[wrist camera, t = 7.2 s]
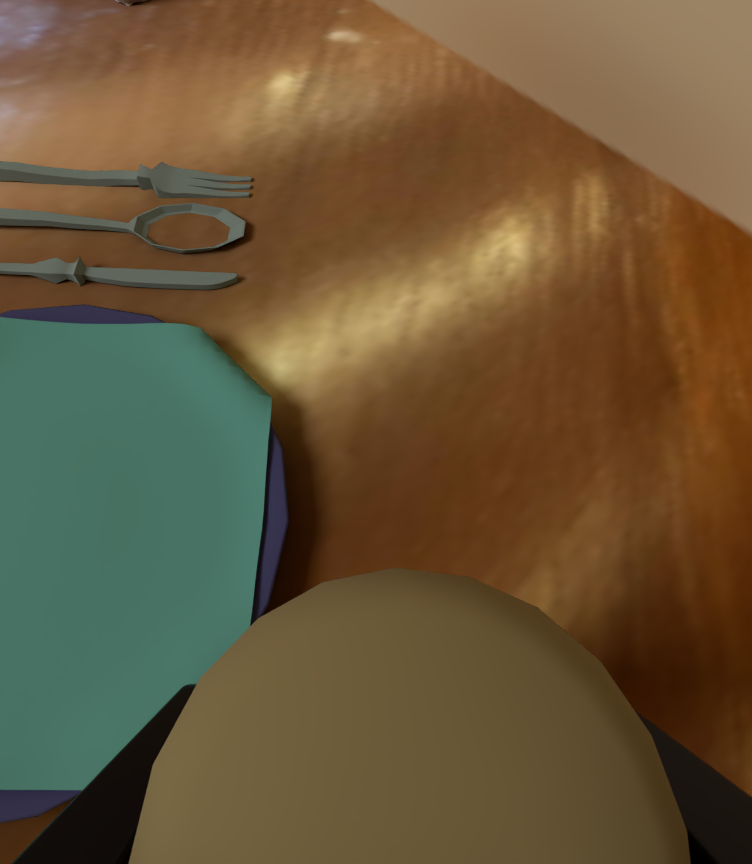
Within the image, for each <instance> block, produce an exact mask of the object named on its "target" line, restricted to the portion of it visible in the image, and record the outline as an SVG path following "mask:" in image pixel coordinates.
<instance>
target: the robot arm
mask: <svg viewBox="0 0 752 864" xmlns="http://www.w3.org/2000/svg"><path fill="white" fill-rule="evenodd" d="M196 685H197V684H187V685H185V686H183V687H182V688H181V689H180V690H179V691H178V692H177V693H176V694H175V695H174V696H173V697H172V698H171V699H170V700H169V701H168V702H167V703H166V704H165V705H164V706H163V707H162V708H161V709H160V710H159V711H158V712H157V713H156V715H155V716H154V717H153V718H152V719H151V720H150V721H149V722H148V723H147V724H146V725H145V726H144V727H143V728H142V729H141V730H140V731H139V732H138V733H137V734H136V735H135V736H134V737H133V738H132V739H131V740H130V741H129V742H128V744H127V745H126V746H125V747H124V748H123V749H122V750H121V751H120V752H119V753H118V754H117V755H116V756H115V757H114V758H113V759H112V760H111V761H110V762H109V763H108V764H107V765H106V766H105V767H104V768H103V769H102V770H101V771H100V772H99V774H98V775H97V776H96V777H95V778H94V779H93V780H92V781H91V782H90V783H89V784H88V785H87V786H86V787H85V788H84V789H83V790H82V791H81V792H80V793H79V794H78V795H77V796H76V797H75V798H74V799H73V800H72V801H71V803H70V804H69V805H68V806H67V807H66V808H65V809H64V810H63V811H62V812H61V813H60V814H59V815H58V816H57V817H56V818H55V819H54V820H53V821H52V822H51V823H50V824H49V825H48V826H47V827H46V828H45V829H44V830H43V832H42V833H41V834H40V835H39V836H38V837H37V838H36V839H35V840H34V841H33V842H32V843H31V844H30V845H29V846H28V847H27V848H26V849H25V850H24V851H23V852H22V853H21V854H20V855H19V856H18V857H17V858H16V859H15V860H14V862H13V863H12V864H129V860H130V856H131V852H132V848H133V844H134V839H135V835H136V831H137V827H138V823H139V819H140V815H141V811H142V807H143V803H144V799H145V795H146V791H147V787H148V783H149V779H150V775H151V770H152V766H153V764H154V762H155V760H156V758H157V756H158V754H159V753H160V751H161V749H162V747H163V745H164V743H165V742H166V740H167V738H168V736H169V734H170V732H171V731H172V729H173V727H174V725H175V723H176V721H177V720H178V718H179V716H180V714H181V712H182V710H183V709H184V707H185V705H186V703H187V701H188V699H189V698H190V696H191V694H192V692H193V690H194V688H195V687H196ZM634 711H635V710H634ZM635 712H636V714H637V715H638V716H639V718H640V719H641V721H642V722H643V724H644V725H645V727H646V728H647V730H648V731H649V732H650V734H651V735H652V738H653V740H654V743H655V746H656V748H657V751H658V754H659V757H660V759H661V762H662V765H663V767H664V770H665V773H666V775H667V778H668V781H669V783H670V786H671V789H672V791H673V794H674V797H675V799H676V802H677V805H678V807H679V810H680V813H681V816H682V818H683V821H684V824H685V826H686V829H687V835H688V844H689V853H690V862H691V864H752V797H751V796H749V795H748V794H747V793H745V792H744V791H743V790H741V789H740V788H739V787H737V786H736V785H735V784H733V783H732V782H731V781H729V780H728V779H727V778H725V777H724V776H723V775H721V774H720V773H719V772H717V771H716V770H715V769H713V768H712V767H711V766H709V765H708V764H707V763H705V762H704V761H703V760H701V759H700V758H698V757H697V756H696V755H694V754H693V753H692V752H690V751H689V750H688V749H686V748H685V747H684V746H682V745H681V744H680V743H678V742H677V741H676V740H674V739H673V738H672V737H670V736H669V735H668V734H666V733H665V732H664V731H662V730H661V729H660V728H658V727H657V726H656V725H654V724H653V723H652V722H650V721H649V720H648V719H646V718H645V717H643V716H642V715H641V714H639V713H638V712H637V711H635Z"/></svg>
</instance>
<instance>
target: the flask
mask: <svg viewBox="0 0 752 864" xmlns="http://www.w3.org/2000/svg"><path fill="white" fill-rule="evenodd" d="M116 1H117V2H122V3H124V4H125V5H127V6H130V5H132V3H134V2H138V1H139V2H144V1H146V0H116Z"/></svg>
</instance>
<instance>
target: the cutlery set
mask: <svg viewBox="0 0 752 864" xmlns="http://www.w3.org/2000/svg"><path fill="white" fill-rule="evenodd" d="M0 181H22V182H31V183H40V184H61V185H83V186H115V185H139V187H140V188H141V189H142V190H146V189H154V190H155V192H156V194H157V195H158V197H159V198H174V197H181V198H249V192H228V191H219V190H250V188H251V186H250V185H246V184H227V183H219V182H251V181H252V178H251V177H234V176H225V175H218V174H213V173H207V172H201V171H195V170H189V169H182V168H176V167H172V166H168V165H166V164H165V163H163V162H161V163H160V164H158V165H157V166H156V167H155V168H154V169H150V168H148V167H145V166H143V165H141V164H140V168H139V171H121V170H110V171H85V170H73V169H62V168H53V167H44V166H37V165H30V164H24V163H17V162H3V161H0ZM190 212H191V213H196V214H201V215H207V216H212V217H215V218H217V219H218V220H220V221H221V222H223V223H224V224H226V225H227V226H229V227H230V231H229V236H228V240H227V241H225V242H223V243H221V244H219V245H216V246H214V247H207V248H197V249H186V250H182V249H177V248H171V247H166V246H161V245H157V244H155V243H154V242H153V241H151V240H150V239H149V238H147V233H148V228H149V225H150V224H152V223H153V222H155V221H157V220H159V219H161V218H163V217H165V216H167V215H174V214H182V213H190ZM245 222H246V221H244V220H242V219H241V218H239V217H237V216H236V215H234V214H232V213H231V212H229V211H227V210H226V209H223V208H217V207H212V206H206V205H201V204H196V203H187V204H176V205H165V206H159V207H157V208H154V209H152V210H150V211H147V212H145V213H143V214H140V215H138V216H136V217H135V218H133V219H132V220H131V221H130V222H129V223H124V222H117V221H111V220H105V219H97V218H88V217H79V216H71V215H64V214H57V213H51V212H41V211H29V210H17V209H5V208H0V225H16V226H52V227H63V228H74V229H92V230H108V231H118V232H128V233H132V234H135V235H138V236H140V237H141V238H142V239H144V240H145V241H147V242H148V243H150V244H151V245H152V246H154V247H155V248H157V249H162V250H167V251H172V252H177V253H181V254H184V253H193V252H203V251H212V250H214V249H216V248H218V247H220V246H223V245H225V244H227V243H229V242H232V241H234V240H236V239H238V238H240V237H243V236H244V229H245ZM0 274H18V275H33V276H36V277H39V278H42V279H45V280H48V281H51V282H53V283H56V284H57V283H59V282H61V281H63V280H66V279H68V280H71V281H74V282H76V283H78V284H79V285H80V286H82V285H83V284H84V283H85V280H90V281H95V282H101V283H108V284H115V285H121V286H131V287H147V288H166V289H197V290H211V289H218V288H223V287H226V286H228V285H231V284H234V283H236V282H237V281H238V275H237V273H215V272H192V271H169V270H145V269H122V268H99V267H85V265H84V264H83V262H82V260H81V258H80V256H79V258H78V260H77V261H76V262H74V263H66V262H64V261H62V260H60V259H57V258H52V259H49V260H45V261H41V262H38V263H34V264H18V263H0ZM271 408H272V398H271V396H270V395H269V394H268V393H267V392H266V391H265V390H264V389H263V388H261V387H260V386H259V385H258V384H257V383H256V382H255V381H254V380H253V379H252V378H251V377H250V376H249V375H248V374H247V373H246V372H245V371H244V370H243V369H242V368H241V367H239V366H238V365H237V364H236V363H235V362H234V361H233V360H232V359H231V358H230V357H229V356H228V355H227V354H226V353H225V352H224V351H223V350H222V349H221V348H220V347H219V346H218V345H217V344H216V343H215V342H214V341H213V339H212V338H211V337H210V336H209V335H207V334H206V333H205V332H204V331H203V330H202V329H201V328H199V327H195V326H190V325H186V324H176V323H165V322H163V321H161V320H159V319H157V318H155V317H153V316H150V315H144V314H138V313H132V312H126V311H120V310H114V309H108V308H102V307H96V306H90V305H85V304H84V305H71V306H59V307H46V308H34V309H21V310H11V311H7V312H4V313H1V314H0V823H3V822H8V821H14V820H20V819H25V818H31V817H37V816H39V815H41V814H43V813H45V812H47V811H49V810H51V809H53V808H55V807H57V806H58V805H60V804H62V803H64V802H66V801H68V800H70V799H72V798H74V797H76V796H77V795H78V794H79V793H80V792H81V791H82V790H83V789H84V788H85V787H86V786H87V785H88V784H89V783H90V782H91V781H92V780H93V779H94V778H95V777H96V776H97V775H98V774H99V772H100V771H101V770H102V769H103V768H104V767H105V766H106V765H107V764H108V763H109V762H110V761H111V760H112V759H113V758H114V757H115V756H116V755H117V754H118V753H119V752H120V751H121V750H122V749H123V748H124V747H125V746H126V745H127V744H128V742H129V741H130V740H131V739H132V738H133V737H134V736H135V735H136V734H137V733H138V732H139V731H140V730H141V729H142V728H143V727H144V726H145V725H146V724H147V723H148V722H149V721H150V720H151V719H152V718H153V717H154V716H155V715H156V713H157V712H158V711H159V710H160V709H161V708H162V707H163V706H164V705H165V704H166V703H167V702H168V701H169V700H170V699H171V698H172V697H173V696H174V695H175V694H176V693H177V692H178V691H179V690H180V689H181V688H182V687H183V686H185V685H187V684H197V683H198V681H199V679H200V678H201V677H202V675H203V674H204V673H205V672H206V671H207V670H208V669H209V668H210V667H211V666H212V665H213V664H214V663H215V662H216V661H217V660H218V659H219V658H220V657H221V656H222V655H223V654H224V653H225V652H226V651H227V650H228V649H229V648H230V647H231V646H232V645H233V644H234V643H235V642H236V641H237V640H238V639H239V637H240V636H241V635H242V634H243V633H244V632H245V631H246V630H247V629H248V628H249V627H250V626H251V625H252V624H253V623H254V622H255V621H256V620H257V619H258V618H260V617H261V616H262V615H263V613H264V612H265V610H266V608H267V607H268V605H269V602H270V598H271V594H272V590H273V586H274V582H275V578H276V574H277V570H278V566H279V561H280V557H281V553H282V549H283V545H284V541H285V537H286V533H287V529H288V525H289V512H288V501H287V490H286V478H285V467H284V455H283V447H282V445H281V443H280V441H279V439H278V437H277V435H276V433H275V430H274V428H273V426H272V424H271V422H270V419H271Z"/></svg>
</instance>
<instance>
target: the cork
mask: <svg viewBox="0 0 752 864" xmlns="http://www.w3.org/2000/svg"><path fill="white" fill-rule="evenodd" d="M129 864H691V862H690V853H689V844H688V835H687V829H686V826H685V824H684V821H683V818H682V816H681V813H680V810H679V807H678V805H677V802H676V799H675V797H674V794H673V791H672V789H671V786H670V783H669V781H668V778H667V775H666V773H665V770H664V767H663V765H662V762H661V759H660V757H659V754H658V751H657V748H656V746H655V743H654V740H653V738H652V735H651V734H650V732H649V731H648V730H647V728H646V727H645V725H644V724H643V722H642V721H641V719H640V718H639V716H638V715H637V714H636V712H635V711H634V709H633V708H632V706H631V705H630V703H629V702H628V701H627V699H626V698H625V696H624V695H623V693H622V692H621V690H620V689H619V687H618V686H617V685H616V683H615V682H614V680H613V679H612V677H611V676H610V674H609V673H608V672H607V670H606V669H605V667H604V666H603V664H602V663H601V661H600V660H599V659H597V658H596V657H595V656H594V655H593V654H592V653H590V652H589V651H588V650H587V649H586V648H584V647H583V646H582V645H581V644H580V643H579V642H577V641H576V640H575V639H574V638H573V637H572V636H570V635H569V634H568V633H567V632H566V631H565V630H563V629H562V628H561V627H560V626H559V625H557V624H556V623H555V622H554V621H553V620H552V619H550V618H549V617H548V616H547V615H546V614H545V613H543V612H542V611H541V610H540V609H539V608H537V607H535V606H533V605H531V604H528V603H526V602H524V601H522V600H520V599H517V598H515V597H513V596H511V595H508V594H506V593H504V592H502V591H500V590H497V589H495V588H493V587H491V586H488V585H486V584H484V583H482V582H479V581H477V580H475V579H473V578H471V577H467V576H459V575H450V574H442V573H433V572H425V571H416V570H408V569H400V568H392V569H387V570H382V571H377V572H372V573H367V574H362V575H357V576H352V577H347V578H342V579H337V580H332V581H327V582H323V583H321V584H319V585H317V586H316V587H314V588H312V589H310V590H308V591H307V592H305V593H303V594H301V595H299V596H298V597H296V598H294V599H292V600H290V601H289V602H287V603H285V604H283V605H281V606H280V607H278V608H276V609H274V610H272V611H270V612H269V613H267V614H265V615H263V616H261V617H260V618H258V619H257V620H256V621H255V622H254V623H253V624H252V625H251V626H250V627H249V628H248V629H247V630H246V631H245V632H244V633H243V634H242V635H241V636H240V637H239V639H238V640H237V641H236V642H235V643H234V644H233V645H232V646H231V647H230V648H229V649H228V650H227V651H226V652H225V653H224V654H223V655H222V656H221V657H220V658H219V659H218V660H217V661H216V662H215V663H214V664H213V665H212V666H211V667H210V668H209V669H208V670H207V671H206V672H205V673H204V674H203V675H202V677H201V678H200V679H199V681H198V683H197V685H196V687H195V688H194V690H193V692H192V694H191V696H190V698H189V699H188V701H187V703H186V705H185V707H184V709H183V710H182V712H181V714H180V716H179V718H178V720H177V721H176V723H175V725H174V727H173V729H172V731H171V732H170V734H169V736H168V738H167V740H166V742H165V743H164V745H163V747H162V749H161V751H160V753H159V754H158V756H157V758H156V760H155V762H154V764H153V766H152V770H151V775H150V779H149V783H148V787H147V791H146V795H145V799H144V803H143V807H142V811H141V815H140V819H139V823H138V827H137V831H136V835H135V839H134V844H133V848H132V852H131V856H130V860H129Z"/></svg>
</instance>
